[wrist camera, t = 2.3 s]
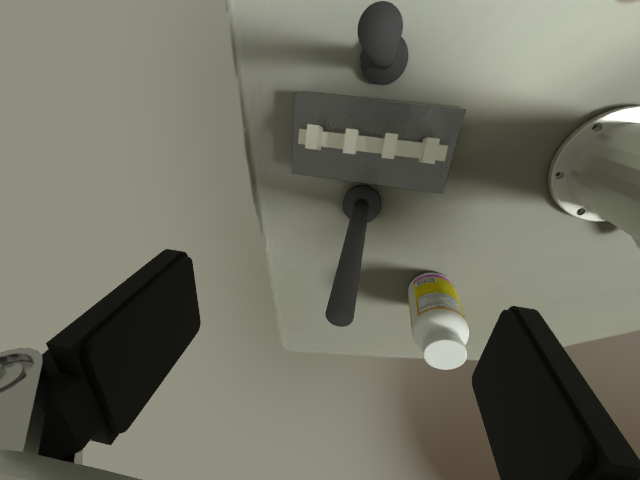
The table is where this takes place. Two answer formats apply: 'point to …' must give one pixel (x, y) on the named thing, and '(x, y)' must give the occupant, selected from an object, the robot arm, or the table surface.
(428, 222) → the table surface
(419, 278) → the supplement bottle
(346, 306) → the cable upright
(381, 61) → the cable upright
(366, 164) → the breaker panel
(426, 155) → the breaker paddles
